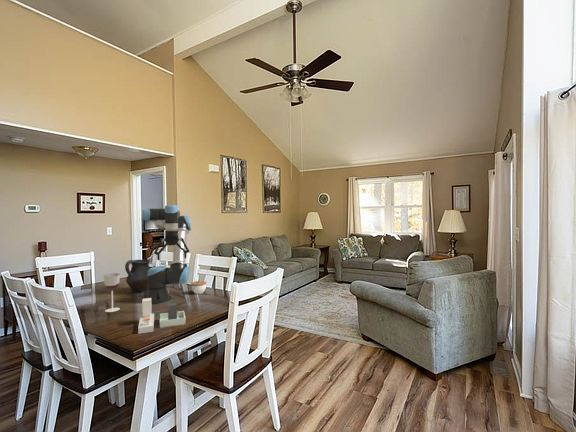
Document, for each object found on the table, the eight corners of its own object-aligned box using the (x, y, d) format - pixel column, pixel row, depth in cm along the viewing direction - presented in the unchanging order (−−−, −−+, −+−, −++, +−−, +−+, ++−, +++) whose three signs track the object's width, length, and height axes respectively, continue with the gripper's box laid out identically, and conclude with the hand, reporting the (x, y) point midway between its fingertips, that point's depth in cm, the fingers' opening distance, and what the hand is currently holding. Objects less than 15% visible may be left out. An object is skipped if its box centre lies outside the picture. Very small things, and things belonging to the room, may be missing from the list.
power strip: (141, 316, 177) (141, 309, 177) (154, 315, 179) (154, 308, 179) (138, 333, 153) (138, 325, 153) (153, 331, 155) (153, 323, 155)
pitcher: (161, 289, 236) (160, 258, 236) (134, 296, 218) (133, 262, 217) (145, 286, 247) (145, 255, 247) (118, 292, 229) (118, 259, 228)
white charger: (143, 315, 171) (142, 298, 170) (151, 314, 172) (151, 297, 172) (142, 318, 166) (142, 301, 166) (151, 317, 168) (151, 300, 168)
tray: (159, 328, 160) (159, 321, 160) (159, 319, 172) (159, 313, 172) (185, 324, 165) (185, 318, 165) (184, 316, 177) (183, 310, 177)
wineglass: (103, 313, 183) (103, 277, 183) (104, 308, 192) (104, 274, 191) (120, 310, 187) (119, 275, 187) (120, 306, 196) (120, 272, 195)
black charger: (168, 320, 170) (167, 303, 170) (176, 318, 171) (176, 302, 171) (168, 323, 165) (168, 306, 165) (176, 321, 167) (176, 305, 167)
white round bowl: (193, 291, 232) (193, 279, 232) (207, 290, 233) (207, 278, 233) (189, 295, 221) (189, 282, 221) (204, 294, 222) (204, 282, 222)
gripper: (149, 231, 178) (149, 267, 178) (193, 229, 188) (193, 263, 188) (149, 230, 185) (150, 264, 185) (192, 229, 195) (192, 262, 195)
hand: (172, 264), depth 187 cm, fingers open, 13 cm apart
